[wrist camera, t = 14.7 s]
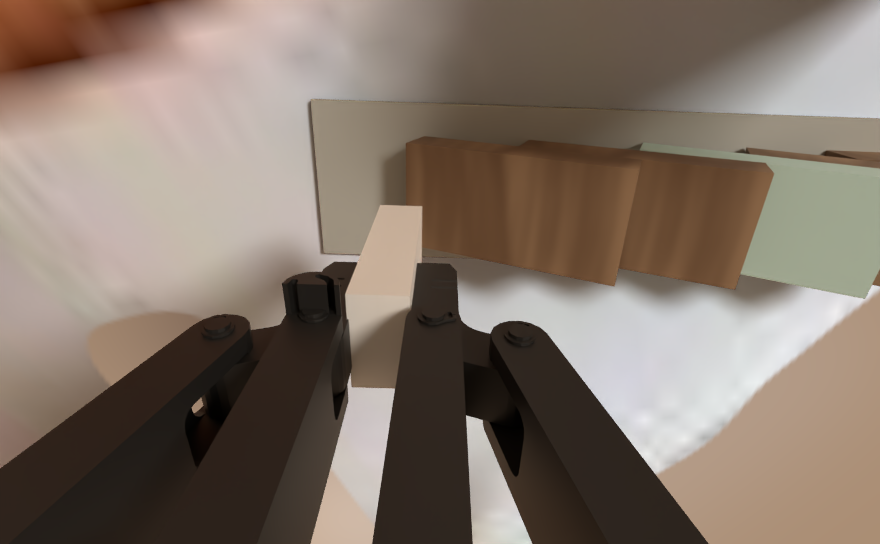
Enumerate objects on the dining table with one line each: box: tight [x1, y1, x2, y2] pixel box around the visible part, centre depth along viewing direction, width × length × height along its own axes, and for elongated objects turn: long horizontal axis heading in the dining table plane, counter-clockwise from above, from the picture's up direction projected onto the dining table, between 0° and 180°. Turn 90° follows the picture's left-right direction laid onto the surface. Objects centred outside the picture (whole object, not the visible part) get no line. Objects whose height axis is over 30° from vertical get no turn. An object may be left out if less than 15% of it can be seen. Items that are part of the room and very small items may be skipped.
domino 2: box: [520, 140, 774, 290], centre depth 21 cm, size 2×5×10 cm
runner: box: [311, 99, 880, 258], centre depth 24 cm, size 28×8×1 cm, turn 88°
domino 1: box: [406, 136, 642, 286], centre depth 21 cm, size 2×5×10 cm
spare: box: [640, 143, 880, 299], centre depth 21 cm, size 2×5×10 cm
